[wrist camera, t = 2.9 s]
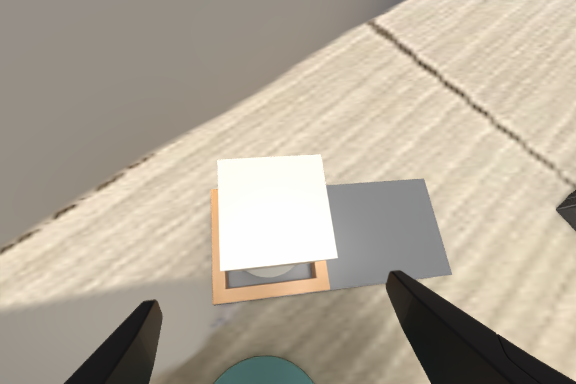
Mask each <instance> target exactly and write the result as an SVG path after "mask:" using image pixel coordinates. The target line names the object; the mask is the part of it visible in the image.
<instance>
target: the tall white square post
mask: <svg viewBox="0 0 576 384" xmlns="http://www.w3.org/2000/svg"><path fill="white" fill-rule="evenodd" d="M217 166H218V207H219V248H220V271H247V272H249V273H251V274H253V275H255V276H259V277H266V278H267V277H276V276H279V275H282V274H284V273H286V272H288V271H289V270H291V269H292V268H293V267H294V266H295V265H300V264H306V263H312V262H318V261H324V260H330V259H335V258H338V256H337V250H336V244H335V238H334V232H333V225H332V219H331V213H330V207H329V201H328V195H327V189H326V183H325V177H324V171H323V165H322V158H321V154H318V155H299V156H280V157H261V158H241V159H222V160H217Z"/></svg>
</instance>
